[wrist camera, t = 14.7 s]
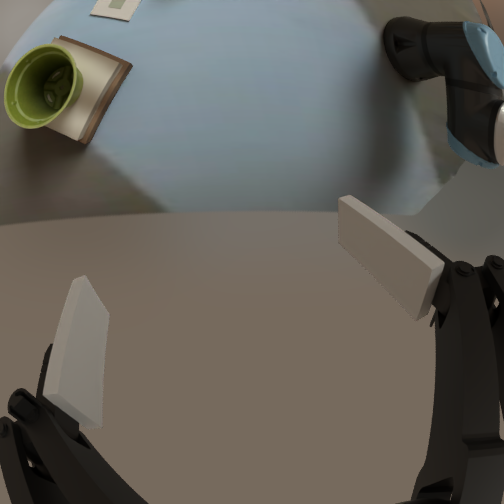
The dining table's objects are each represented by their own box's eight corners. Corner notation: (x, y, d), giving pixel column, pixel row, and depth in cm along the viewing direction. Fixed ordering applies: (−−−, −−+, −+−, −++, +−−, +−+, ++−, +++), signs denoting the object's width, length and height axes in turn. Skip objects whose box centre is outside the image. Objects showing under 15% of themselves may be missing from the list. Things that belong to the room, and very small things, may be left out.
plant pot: (78, 40, 21) (55, 27, 14) (108, 90, 27) (91, 88, 20) (25, 86, 22) (-7, 87, 15) (54, 134, 27) (26, 146, 20)
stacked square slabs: (68, 39, 24) (53, 31, 19) (133, 65, 31) (127, 60, 26) (30, 113, 28) (11, 117, 23) (91, 140, 35) (79, 147, 29)
